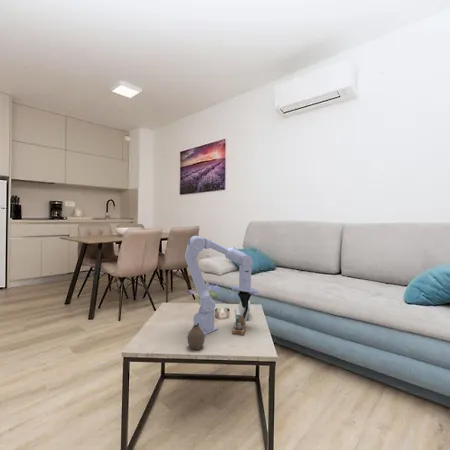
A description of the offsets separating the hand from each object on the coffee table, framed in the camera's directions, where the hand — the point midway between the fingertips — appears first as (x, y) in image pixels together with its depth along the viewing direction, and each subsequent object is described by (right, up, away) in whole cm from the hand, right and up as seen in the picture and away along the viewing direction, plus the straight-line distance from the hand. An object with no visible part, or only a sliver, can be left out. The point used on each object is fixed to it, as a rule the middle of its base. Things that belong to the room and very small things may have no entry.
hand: (244, 307), depth 138 cm
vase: (-21, -10, -23) cm, 33 cm away
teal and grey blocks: (-3, -9, -1) cm, 10 cm away
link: (-2, -9, -4) cm, 10 cm away
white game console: (0, -9, +15) cm, 18 cm away
